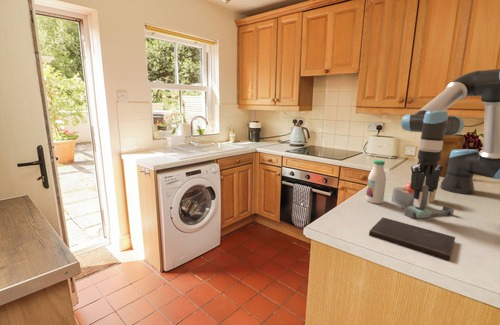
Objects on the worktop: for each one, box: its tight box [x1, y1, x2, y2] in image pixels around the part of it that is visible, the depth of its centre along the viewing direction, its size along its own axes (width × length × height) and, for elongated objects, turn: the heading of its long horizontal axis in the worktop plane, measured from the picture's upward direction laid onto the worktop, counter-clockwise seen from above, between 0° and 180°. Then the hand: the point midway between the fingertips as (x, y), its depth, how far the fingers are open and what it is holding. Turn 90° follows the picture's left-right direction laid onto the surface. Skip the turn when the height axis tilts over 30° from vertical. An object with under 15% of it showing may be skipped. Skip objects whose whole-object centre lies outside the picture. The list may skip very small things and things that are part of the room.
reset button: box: [405, 182, 414, 193], centre depth 122 cm, size 4×4×6 cm
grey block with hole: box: [390, 186, 427, 209], centre depth 123 cm, size 10×10×7 cm
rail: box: [403, 205, 455, 220], centre depth 111 cm, size 21×4×3 cm, turn 102°
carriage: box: [408, 185, 433, 219], centre depth 109 cm, size 6×6×13 cm
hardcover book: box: [368, 217, 456, 262], centre depth 91 cm, size 16×23×2 cm
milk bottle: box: [365, 159, 387, 205], centre depth 125 cm, size 8×8×20 cm
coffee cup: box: [423, 177, 440, 203], centre depth 130 cm, size 9×9×12 cm
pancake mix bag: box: [437, 134, 466, 178], centre depth 177 cm, size 7×19×28 cm, turn 49°
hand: (420, 205), depth 110 cm, fingers closed on carriage, 3 cm apart
